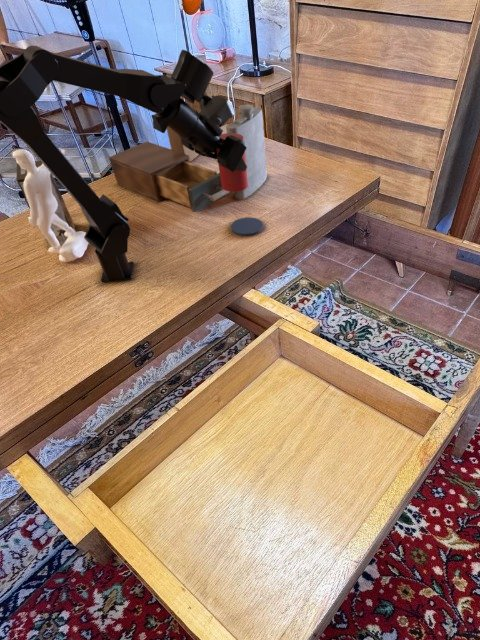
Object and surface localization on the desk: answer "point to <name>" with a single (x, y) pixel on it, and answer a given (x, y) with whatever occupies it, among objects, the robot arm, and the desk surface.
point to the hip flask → (251, 146)
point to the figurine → (48, 209)
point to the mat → (246, 226)
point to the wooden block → (179, 144)
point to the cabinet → (144, 167)
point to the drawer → (190, 185)
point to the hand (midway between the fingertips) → (237, 164)
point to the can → (236, 178)
